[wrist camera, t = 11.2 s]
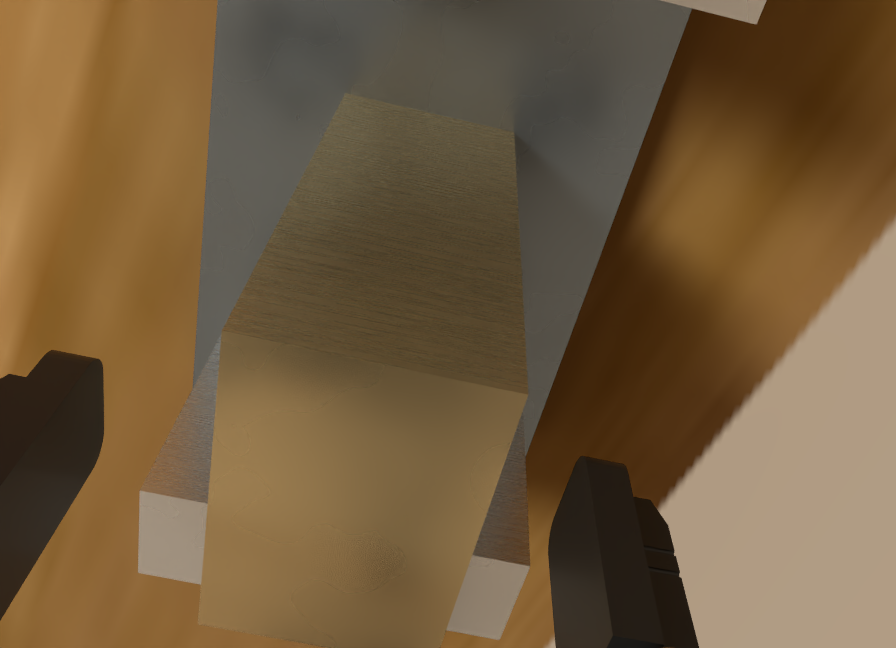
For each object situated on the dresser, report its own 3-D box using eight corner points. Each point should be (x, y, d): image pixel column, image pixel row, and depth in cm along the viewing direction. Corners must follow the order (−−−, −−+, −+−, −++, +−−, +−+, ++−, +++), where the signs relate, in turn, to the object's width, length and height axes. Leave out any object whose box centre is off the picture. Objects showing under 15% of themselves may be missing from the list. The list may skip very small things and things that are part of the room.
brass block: (514, 132, 19) (528, 394, 11) (457, 339, 22) (433, 666, 14) (345, 92, 19) (221, 331, 10) (312, 308, 22) (197, 624, 13)
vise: (521, 433, 26) (530, 674, 19) (207, 367, 25) (92, 593, 18) (773, -270, 16) (1002, -331, 9) (266, -414, 15) (59, -611, 8)
